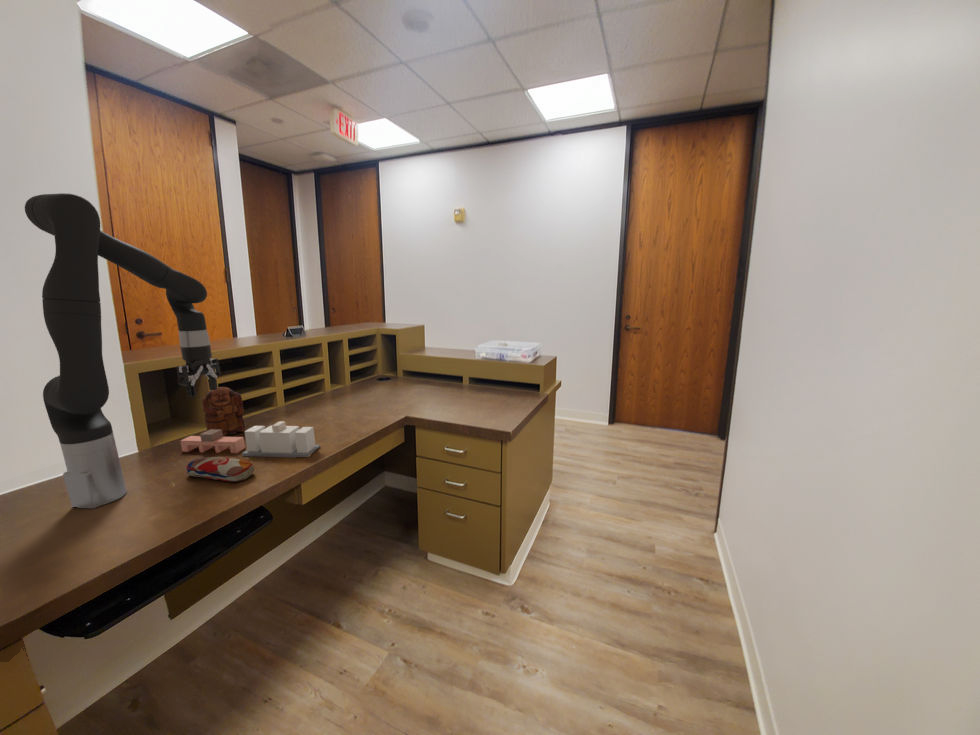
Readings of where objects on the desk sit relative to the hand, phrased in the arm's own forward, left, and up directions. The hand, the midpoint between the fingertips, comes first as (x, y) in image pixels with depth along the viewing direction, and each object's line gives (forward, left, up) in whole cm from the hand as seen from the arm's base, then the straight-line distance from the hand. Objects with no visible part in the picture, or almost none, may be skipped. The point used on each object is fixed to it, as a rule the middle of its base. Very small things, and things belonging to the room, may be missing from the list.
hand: (203, 393), depth 122 cm
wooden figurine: (+14, +6, -20) cm, 25 cm away
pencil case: (-16, -16, -20) cm, 31 cm away
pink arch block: (0, 0, -20) cm, 20 cm away
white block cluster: (0, -24, -20) cm, 31 cm away
